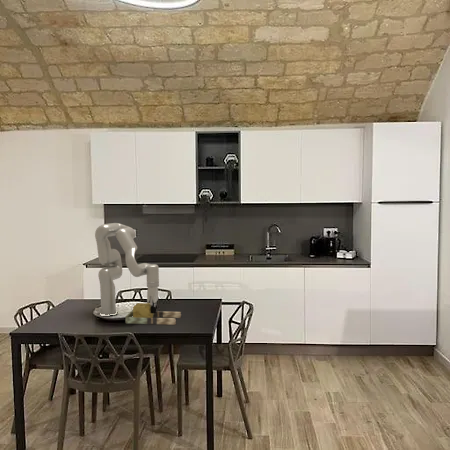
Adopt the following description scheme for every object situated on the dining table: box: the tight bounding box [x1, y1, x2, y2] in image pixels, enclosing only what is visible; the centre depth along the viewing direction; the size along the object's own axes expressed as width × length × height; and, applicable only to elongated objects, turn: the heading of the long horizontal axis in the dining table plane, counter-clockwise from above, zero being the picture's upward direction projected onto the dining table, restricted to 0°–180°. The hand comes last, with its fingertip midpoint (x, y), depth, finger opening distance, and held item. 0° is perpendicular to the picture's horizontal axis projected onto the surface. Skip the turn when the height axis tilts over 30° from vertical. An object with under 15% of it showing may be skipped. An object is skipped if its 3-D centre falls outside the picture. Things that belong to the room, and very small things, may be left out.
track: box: [125, 309, 182, 326], centre depth 302 cm, size 31×16×4 cm, turn 83°
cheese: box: [132, 302, 154, 318], centre depth 302 cm, size 10×11×10 cm
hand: (153, 312), depth 301 cm, fingers closed
